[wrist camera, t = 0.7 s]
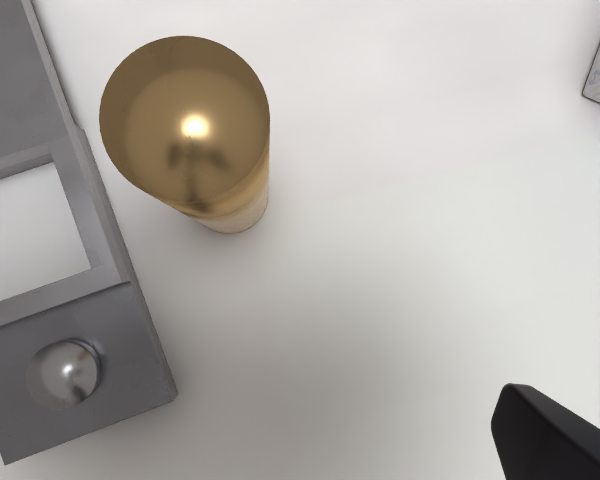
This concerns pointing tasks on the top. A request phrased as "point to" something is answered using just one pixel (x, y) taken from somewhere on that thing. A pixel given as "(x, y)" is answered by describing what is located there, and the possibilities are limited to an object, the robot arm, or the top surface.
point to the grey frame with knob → (73, 290)
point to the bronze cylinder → (191, 130)
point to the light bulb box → (594, 80)
